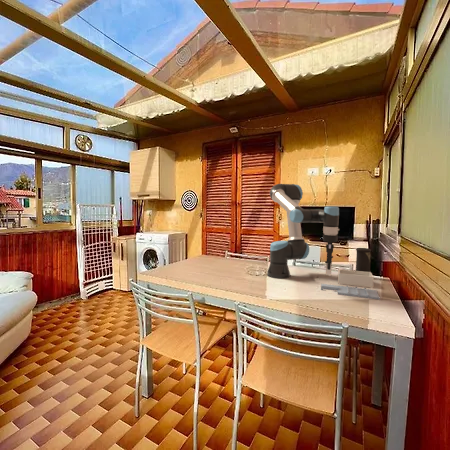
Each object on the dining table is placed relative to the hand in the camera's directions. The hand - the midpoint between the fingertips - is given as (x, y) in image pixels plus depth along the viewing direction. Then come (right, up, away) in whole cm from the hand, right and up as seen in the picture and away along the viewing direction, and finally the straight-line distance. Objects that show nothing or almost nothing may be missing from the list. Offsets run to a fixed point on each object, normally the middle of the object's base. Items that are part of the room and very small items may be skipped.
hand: (328, 272), depth 139 cm
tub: (+20, -9, +11) cm, 25 cm away
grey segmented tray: (+9, -10, -4) cm, 14 cm away
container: (+33, -9, +26) cm, 43 cm away
